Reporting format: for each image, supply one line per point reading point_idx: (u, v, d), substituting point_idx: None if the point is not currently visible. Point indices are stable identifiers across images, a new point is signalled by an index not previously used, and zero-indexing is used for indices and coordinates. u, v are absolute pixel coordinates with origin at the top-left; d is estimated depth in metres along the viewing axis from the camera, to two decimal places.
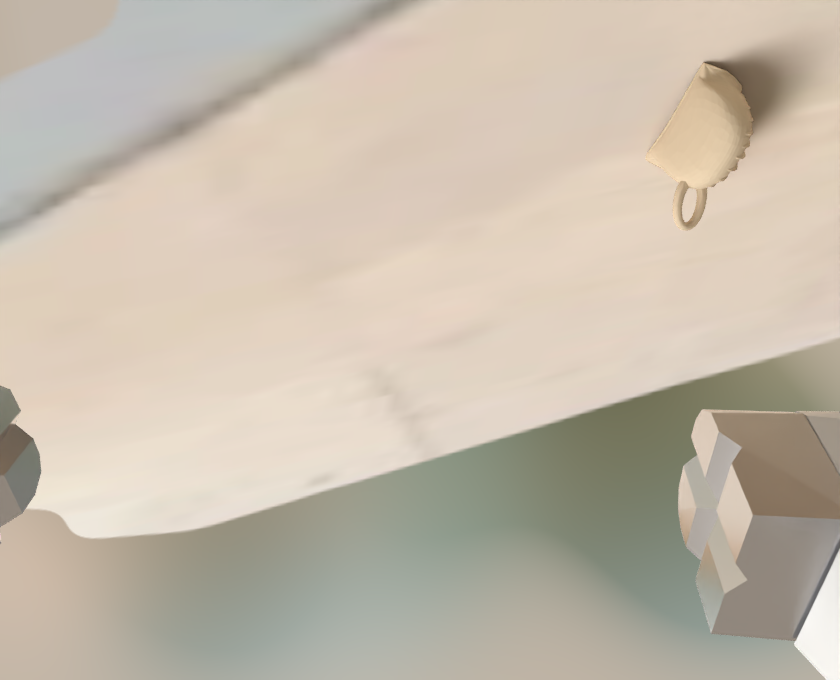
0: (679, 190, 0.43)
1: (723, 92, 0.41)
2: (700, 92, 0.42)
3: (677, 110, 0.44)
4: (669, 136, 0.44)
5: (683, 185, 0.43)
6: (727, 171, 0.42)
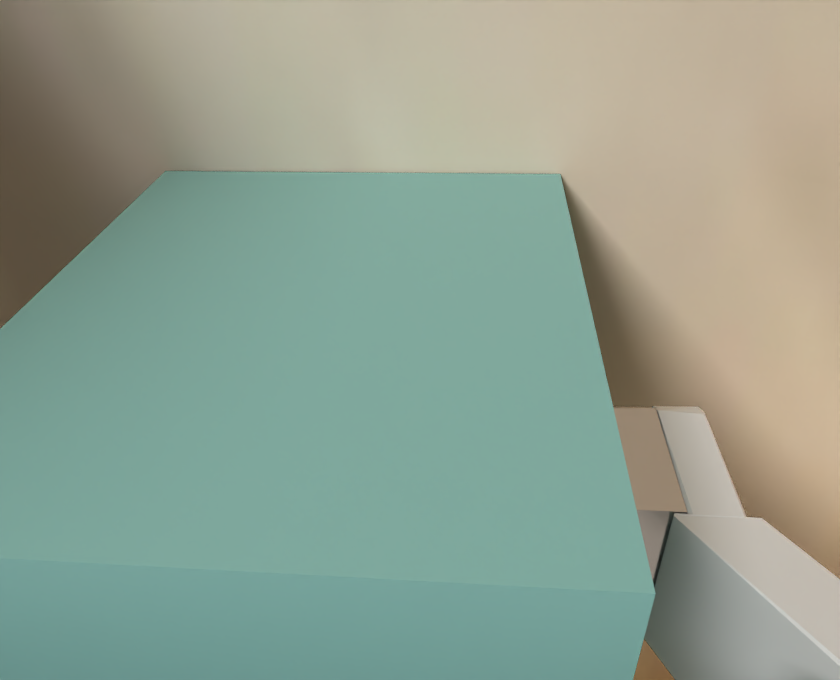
0: None
1: None
2: None
3: None
4: None
5: None
6: None
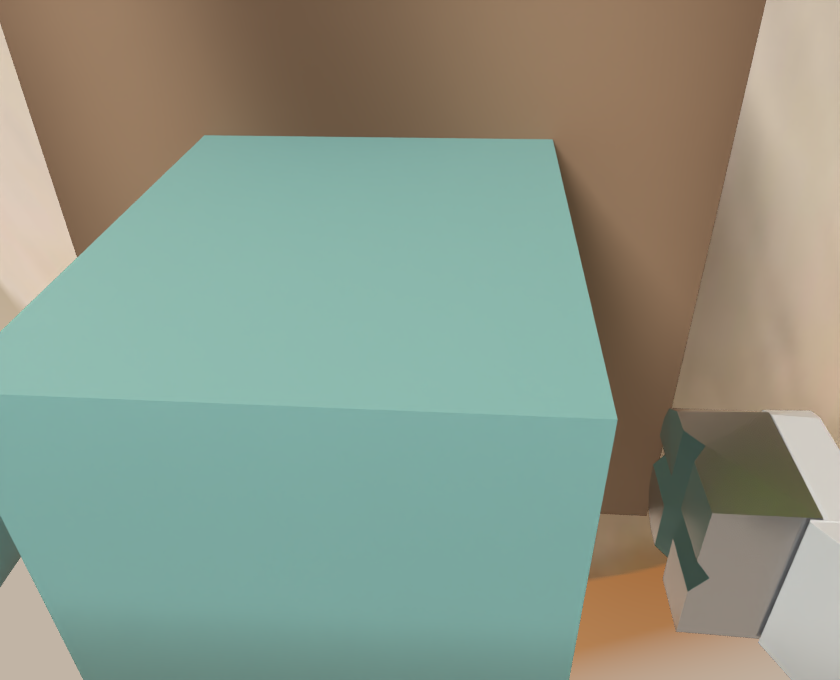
0: None
1: None
2: None
3: None
4: None
5: None
6: None
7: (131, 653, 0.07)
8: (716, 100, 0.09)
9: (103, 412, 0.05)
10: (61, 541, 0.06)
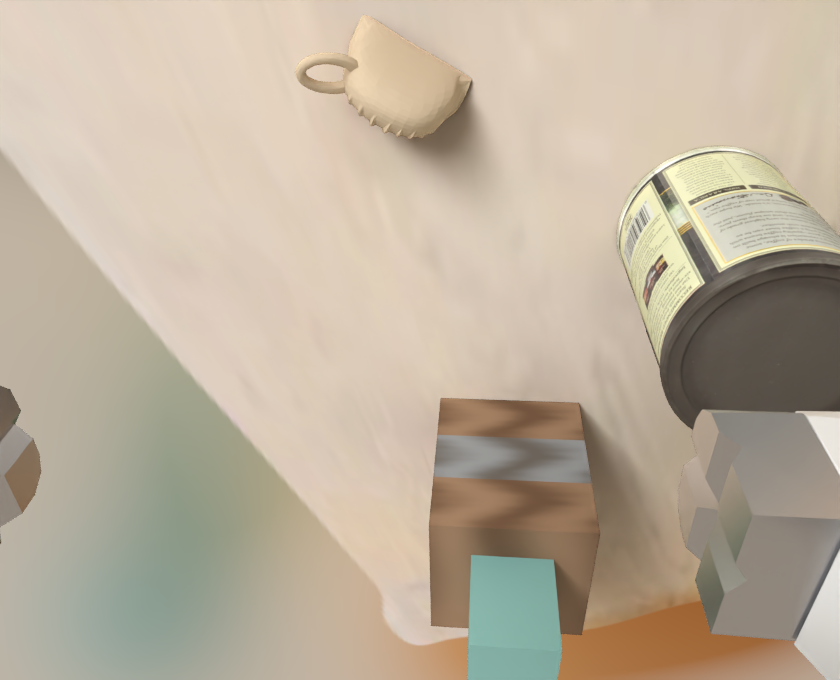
0: (348, 59, 0.35)
1: (450, 103, 0.37)
2: (449, 78, 0.37)
3: (425, 52, 0.38)
4: (399, 44, 0.37)
5: (354, 64, 0.35)
6: (372, 115, 0.36)
7: (479, 679, 0.40)
8: (590, 555, 0.42)
9: (491, 647, 0.38)
10: (476, 662, 0.39)
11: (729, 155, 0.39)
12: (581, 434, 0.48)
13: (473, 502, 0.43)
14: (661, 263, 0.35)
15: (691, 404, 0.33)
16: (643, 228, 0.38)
